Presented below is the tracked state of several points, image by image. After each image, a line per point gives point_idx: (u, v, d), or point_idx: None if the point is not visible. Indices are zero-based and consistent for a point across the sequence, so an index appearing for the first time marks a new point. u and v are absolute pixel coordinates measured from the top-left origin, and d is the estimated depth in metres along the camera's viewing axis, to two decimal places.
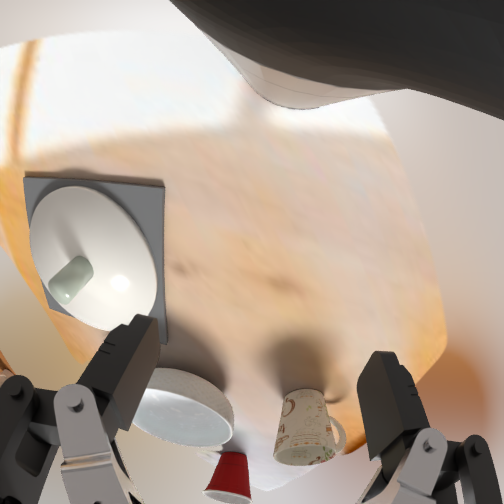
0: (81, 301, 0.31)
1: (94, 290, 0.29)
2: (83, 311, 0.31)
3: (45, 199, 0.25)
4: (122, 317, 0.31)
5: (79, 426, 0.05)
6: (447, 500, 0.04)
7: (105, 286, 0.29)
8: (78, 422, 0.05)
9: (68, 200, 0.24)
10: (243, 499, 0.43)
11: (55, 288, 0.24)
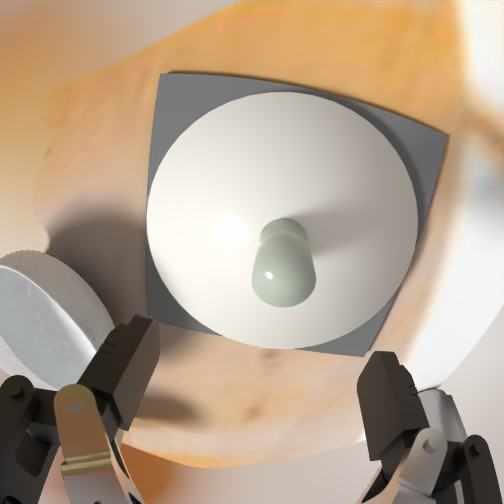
0: (205, 205, 0.18)
1: (237, 249, 0.19)
2: (180, 199, 0.18)
3: (412, 200, 0.16)
4: (189, 284, 0.20)
5: (79, 426, 0.05)
6: (447, 500, 0.04)
7: (248, 277, 0.20)
8: (78, 422, 0.05)
9: (397, 253, 0.18)
10: None
11: (292, 274, 0.14)
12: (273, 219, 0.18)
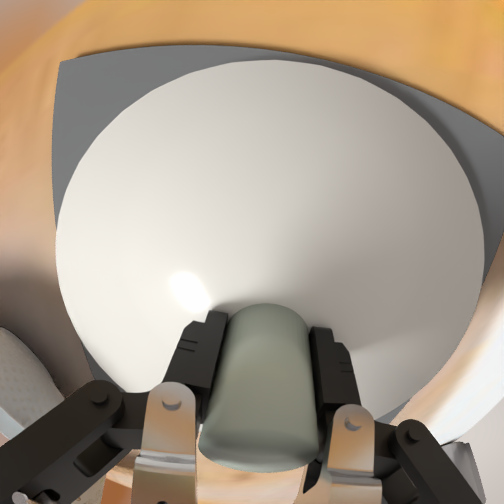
0: (132, 280, 0.10)
1: None
2: (95, 269, 0.10)
3: (479, 260, 0.08)
4: (135, 377, 0.13)
5: (184, 424, 0.06)
6: (399, 485, 0.05)
7: None
8: (170, 420, 0.06)
9: (444, 336, 0.10)
10: None
11: (273, 450, 0.06)
12: (247, 305, 0.10)
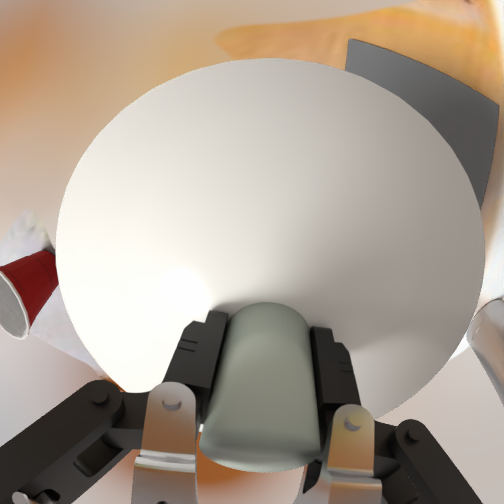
0: (132, 278, 0.10)
1: None
2: (95, 268, 0.10)
3: (480, 258, 0.08)
4: (135, 377, 0.13)
5: (184, 424, 0.06)
6: (399, 485, 0.05)
7: None
8: (170, 420, 0.06)
9: (445, 335, 0.10)
10: (4, 317, 0.27)
11: (274, 449, 0.06)
12: (248, 304, 0.10)
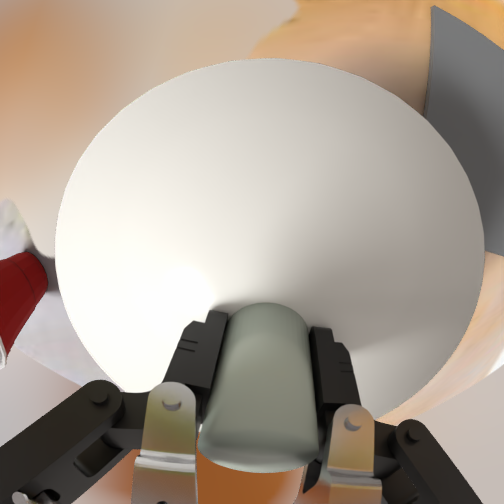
0: (131, 279, 0.10)
1: None
2: (94, 268, 0.10)
3: (479, 259, 0.08)
4: (134, 377, 0.13)
5: (184, 424, 0.06)
6: (399, 485, 0.05)
7: None
8: (170, 420, 0.06)
9: (444, 335, 0.10)
10: None
11: (273, 450, 0.06)
12: (247, 304, 0.10)
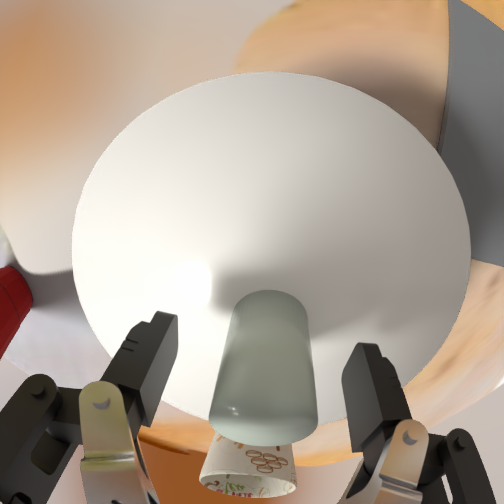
0: (145, 269, 0.11)
1: (200, 330, 0.12)
2: (110, 259, 0.11)
3: (465, 251, 0.09)
4: None
5: (107, 423, 0.05)
6: (435, 494, 0.05)
7: (221, 362, 0.13)
8: (103, 419, 0.05)
9: (435, 323, 0.11)
10: None
11: (277, 419, 0.07)
12: (252, 291, 0.11)
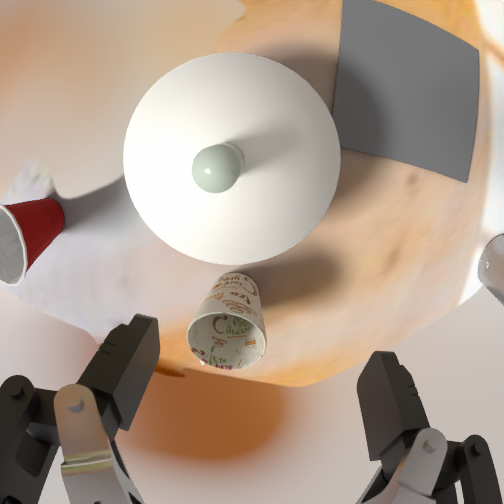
0: (165, 140, 0.22)
1: (191, 172, 0.23)
2: (147, 138, 0.22)
3: (328, 118, 0.20)
4: (156, 208, 0.24)
5: (79, 426, 0.05)
6: (447, 500, 0.04)
7: (202, 194, 0.24)
8: (79, 421, 0.05)
9: (324, 163, 0.22)
10: None
11: (220, 163, 0.18)
12: (216, 144, 0.22)
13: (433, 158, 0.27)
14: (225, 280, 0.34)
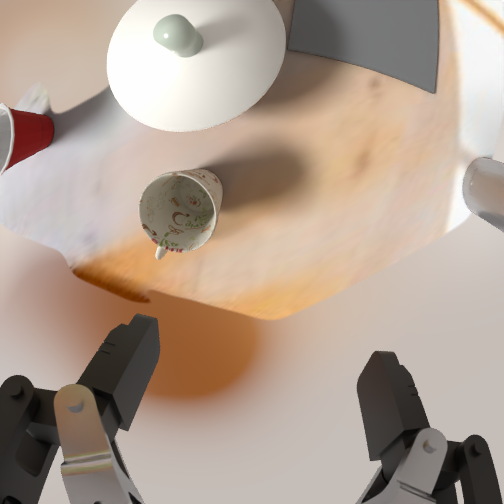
0: (142, 34, 0.21)
1: (159, 54, 0.22)
2: (128, 35, 0.21)
3: (274, 9, 0.19)
4: (128, 87, 0.23)
5: (79, 426, 0.05)
6: (447, 500, 0.04)
7: (166, 71, 0.23)
8: (78, 422, 0.05)
9: (271, 40, 0.21)
10: None
11: (174, 25, 0.17)
12: None
13: (394, 65, 0.26)
14: None
